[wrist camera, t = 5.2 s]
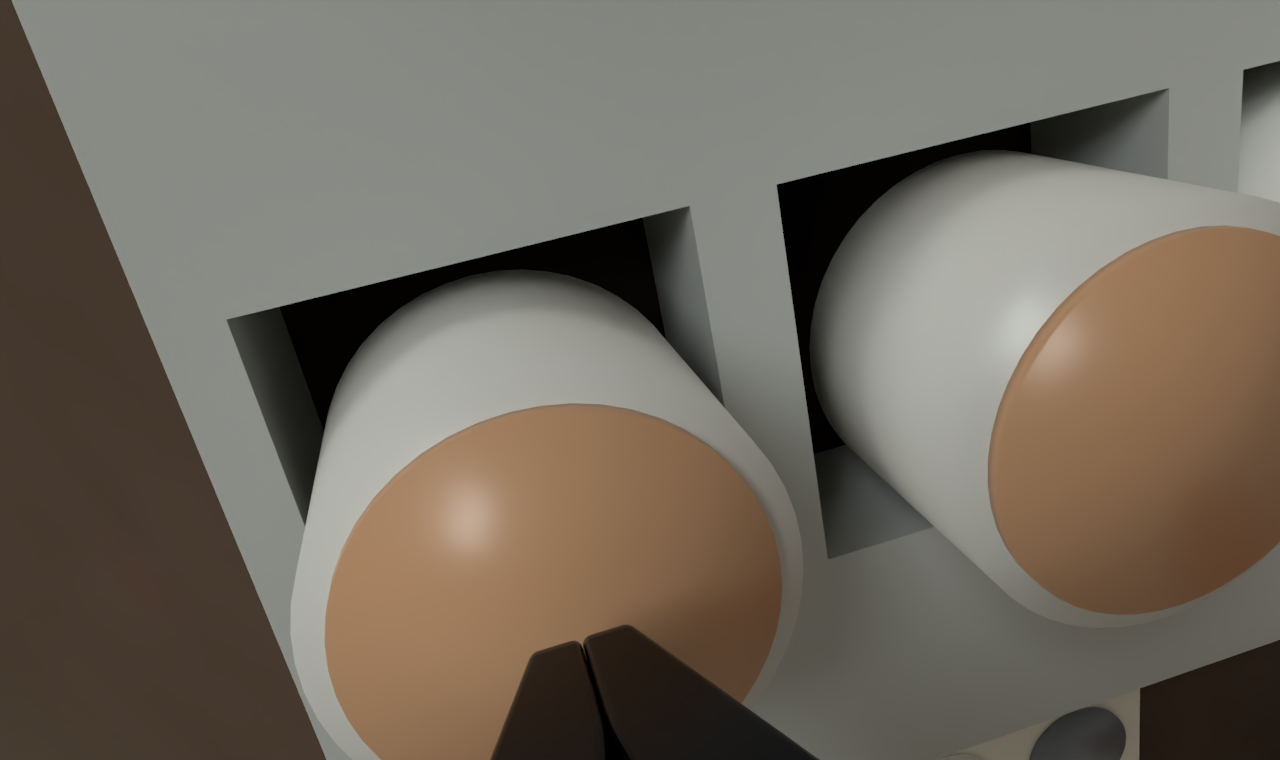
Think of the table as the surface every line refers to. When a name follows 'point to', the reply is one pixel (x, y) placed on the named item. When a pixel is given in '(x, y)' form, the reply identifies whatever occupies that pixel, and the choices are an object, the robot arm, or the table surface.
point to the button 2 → (1260, 133)
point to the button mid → (1065, 376)
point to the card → (1071, 736)
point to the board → (678, 246)
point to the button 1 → (526, 515)
